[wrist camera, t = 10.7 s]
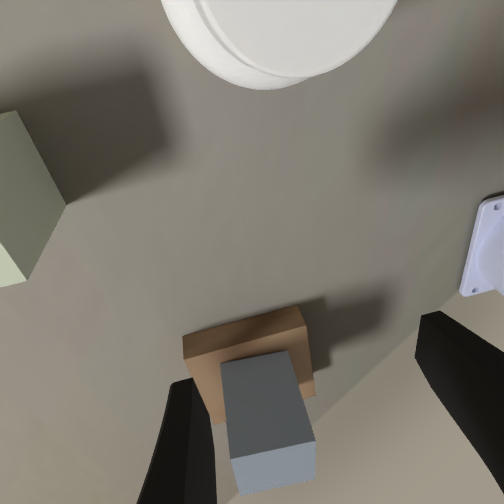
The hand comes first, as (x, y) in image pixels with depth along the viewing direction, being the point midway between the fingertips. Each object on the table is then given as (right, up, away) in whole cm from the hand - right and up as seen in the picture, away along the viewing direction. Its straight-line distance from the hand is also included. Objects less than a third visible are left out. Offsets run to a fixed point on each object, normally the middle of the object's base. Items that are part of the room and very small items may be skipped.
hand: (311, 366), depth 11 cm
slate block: (-1, -5, +14) cm, 15 cm away
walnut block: (-2, -4, +16) cm, 16 cm away
